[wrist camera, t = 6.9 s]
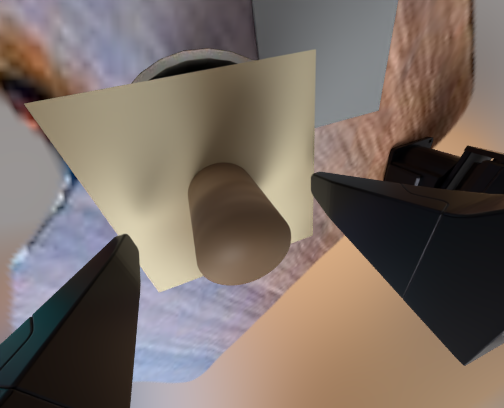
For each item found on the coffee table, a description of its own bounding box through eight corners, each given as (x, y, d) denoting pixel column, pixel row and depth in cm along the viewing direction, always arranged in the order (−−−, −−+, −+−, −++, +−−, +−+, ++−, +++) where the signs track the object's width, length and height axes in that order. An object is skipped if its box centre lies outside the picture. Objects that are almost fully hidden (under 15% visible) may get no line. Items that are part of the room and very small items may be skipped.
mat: (408, -76, 15) (412, -79, 15) (376, 110, 23) (378, 110, 22) (244, -62, 13) (245, -65, 13) (267, 139, 20) (269, 140, 20)
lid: (308, 50, 8) (413, 30, 5) (308, 230, 14) (356, 284, 10) (32, 102, 7) (-138, 133, 3) (159, 285, 12) (154, 373, 9)
